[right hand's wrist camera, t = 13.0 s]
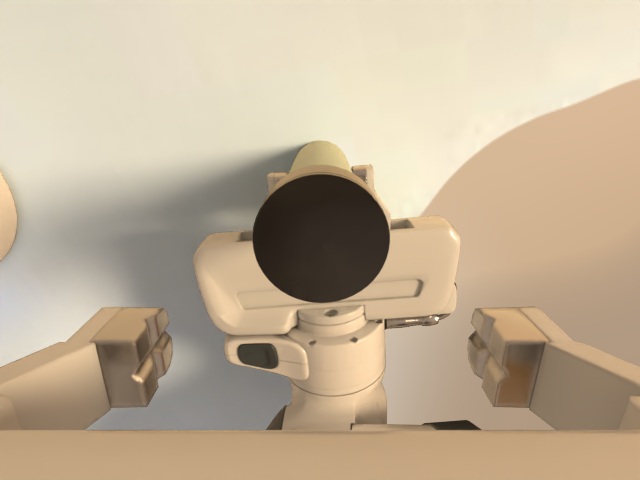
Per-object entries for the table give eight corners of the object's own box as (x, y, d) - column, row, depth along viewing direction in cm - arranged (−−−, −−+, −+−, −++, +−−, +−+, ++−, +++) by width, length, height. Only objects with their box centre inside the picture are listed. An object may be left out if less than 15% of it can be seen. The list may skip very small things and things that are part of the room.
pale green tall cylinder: (358, 173, 34) (397, 248, 17) (316, 205, 35) (311, 306, 18) (325, 128, 32) (331, 161, 15) (282, 163, 33) (243, 229, 17)
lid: (405, 235, 19) (416, 254, 16) (311, 300, 20) (309, 325, 18) (332, 137, 17) (334, 143, 15) (235, 215, 18) (223, 231, 16)
